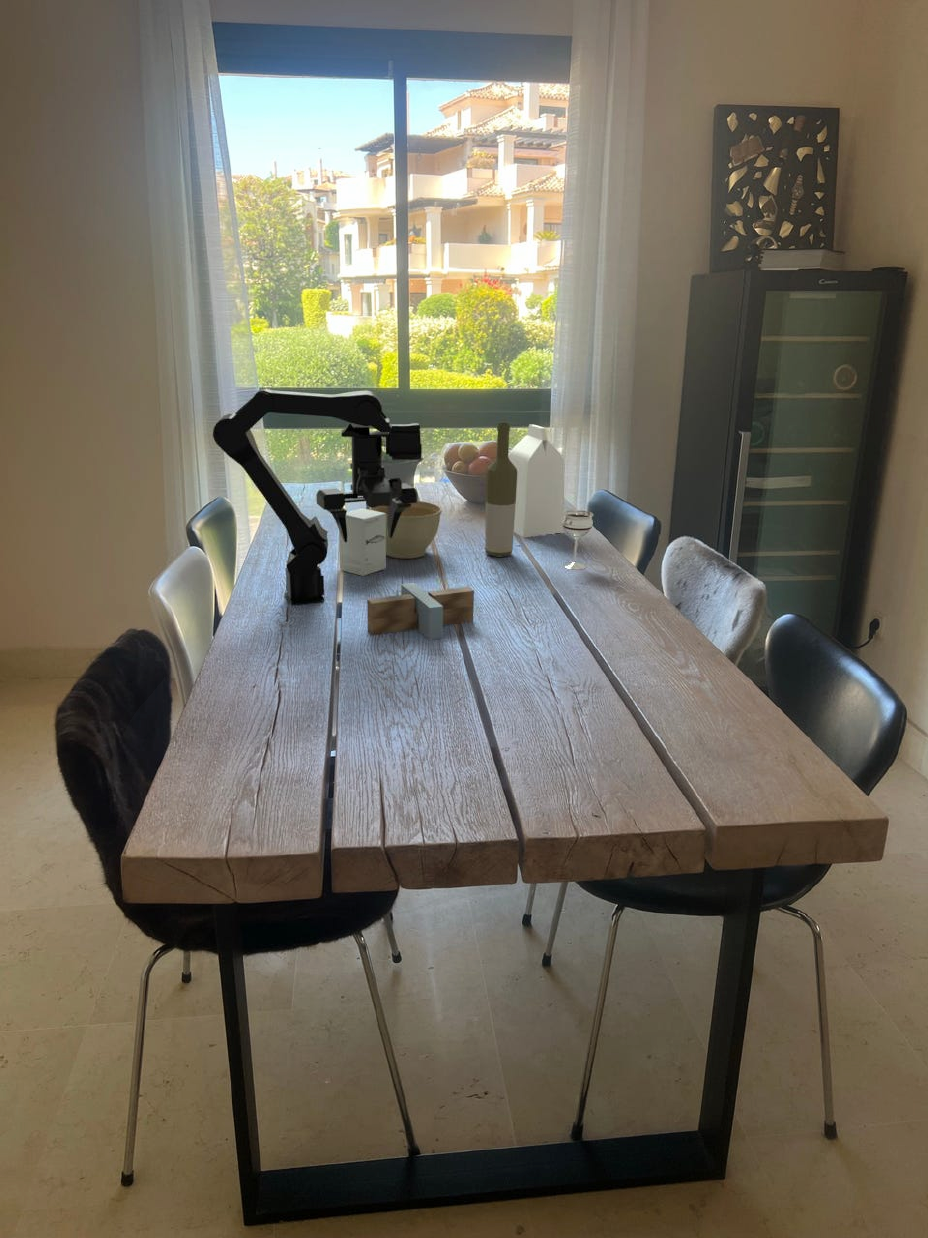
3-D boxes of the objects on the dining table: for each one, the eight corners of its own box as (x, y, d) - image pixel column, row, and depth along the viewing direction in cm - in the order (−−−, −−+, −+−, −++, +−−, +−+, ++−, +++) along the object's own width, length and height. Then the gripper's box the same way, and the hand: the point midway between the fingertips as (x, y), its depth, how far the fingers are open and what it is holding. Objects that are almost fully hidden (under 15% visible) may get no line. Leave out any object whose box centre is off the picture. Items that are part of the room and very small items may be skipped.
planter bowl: (431, 566, 208) (432, 518, 204) (361, 560, 211) (360, 513, 207) (447, 547, 223) (448, 501, 219) (381, 541, 226) (381, 497, 222)
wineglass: (589, 562, 214) (593, 510, 210) (590, 571, 208) (594, 518, 204) (559, 560, 215) (562, 509, 210) (559, 569, 208) (562, 516, 204)
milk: (501, 525, 243) (505, 423, 233) (540, 521, 247) (545, 421, 238) (523, 537, 233) (528, 431, 223) (563, 533, 237) (570, 429, 228)
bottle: (514, 559, 215) (520, 426, 204) (483, 558, 215) (487, 425, 204) (513, 550, 222) (519, 421, 211) (483, 549, 222) (487, 420, 211)
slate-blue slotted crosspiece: (401, 614, 180) (401, 584, 178) (413, 612, 181) (413, 582, 179) (429, 639, 168) (429, 608, 166) (442, 637, 169) (442, 606, 167)
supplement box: (364, 577, 200) (363, 519, 196) (338, 570, 205) (337, 513, 200) (387, 569, 206) (386, 512, 201) (362, 562, 210) (361, 506, 206)
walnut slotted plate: (372, 635, 169) (371, 603, 167) (367, 630, 171) (367, 599, 169) (473, 620, 177) (474, 590, 175) (467, 616, 179) (468, 586, 177)
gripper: (332, 471, 168) (334, 555, 173) (429, 464, 175) (428, 545, 181) (314, 459, 177) (317, 540, 183) (407, 454, 185) (406, 531, 190)
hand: (368, 539), depth 184 cm, fingers open, 9 cm apart
